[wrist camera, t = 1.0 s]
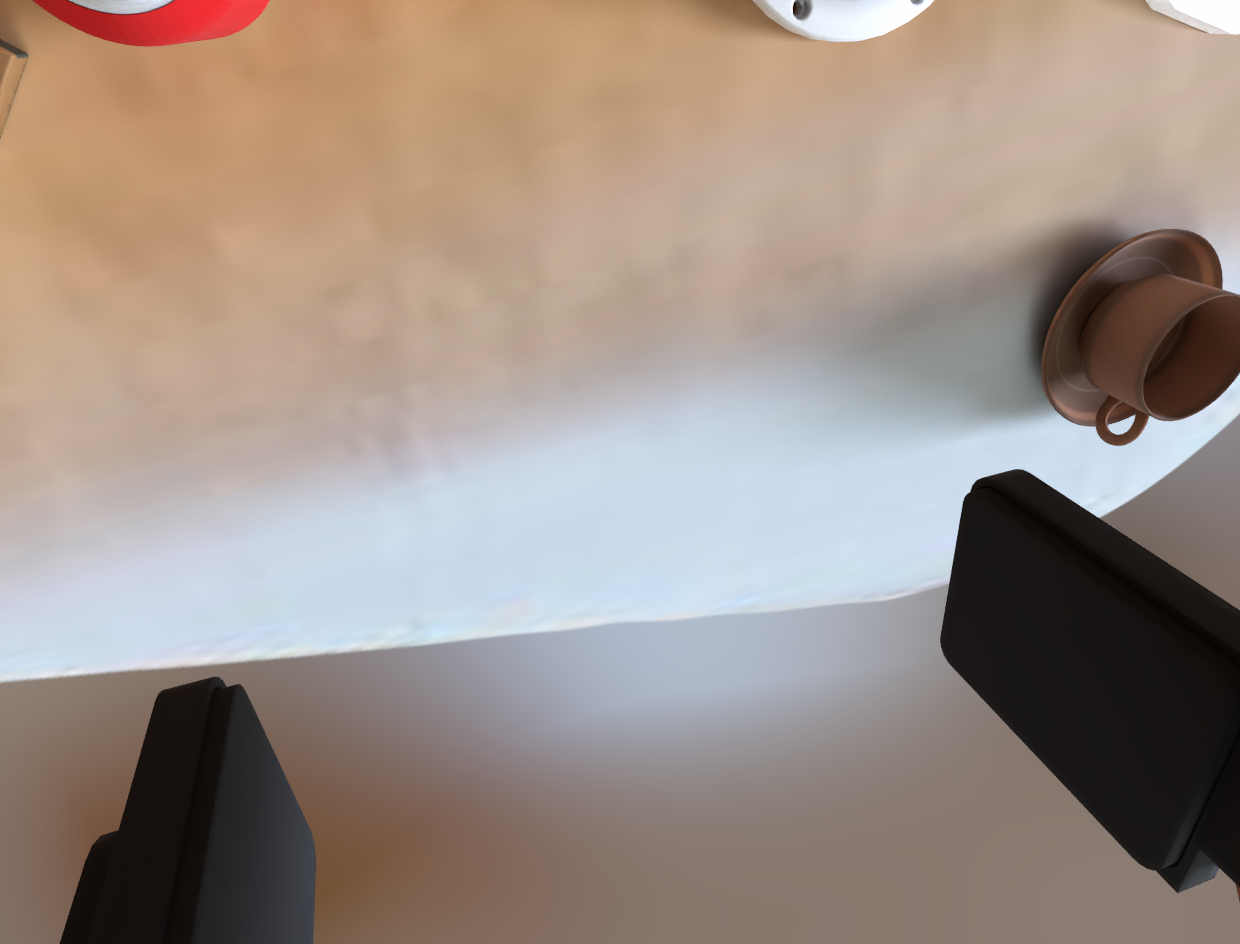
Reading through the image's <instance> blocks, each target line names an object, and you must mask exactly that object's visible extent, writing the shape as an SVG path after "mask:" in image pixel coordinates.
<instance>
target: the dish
mask: <svg viewBox="0 0 1240 944" xmlns="http://www.w3.org/2000/svg"><path fill="white" fill-rule="evenodd" d="M1146 2H1147V3H1148V5H1149V6H1150V7H1151V9H1152V10H1155V11H1157V12H1159V13H1162V14H1164V15H1166V16H1169V17H1171V18H1174V19H1176V20H1178V21H1181V22H1183V23H1186V24H1188V25H1190V26H1193V27H1195V28H1198V29H1200V30H1202V31H1205V32H1207V33H1209V34H1239V33H1240V0H1146Z"/></svg>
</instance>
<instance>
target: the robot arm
mask: <svg viewBox="0 0 1240 944" xmlns="http://www.w3.org/2000/svg"><path fill="white" fill-rule="evenodd" d="M752 1H753V2H754V3H755V4H756V5H757V6H758V7H759V8H760V9H761V10H762V11H763V12H764V13H765V14H766V16H767V17H769V18H770V19H772V20H773V21H775V22H776V23H778V24H779V25H781V26H782V27H784V28H785V29H787V30H788V31H790V32H793V33H796V34H799V35H801V36H804V37H807V38H809V39H813V40H822V41H831V42H849V41H861V40H865V39H869V38H872V37H876V36H880V35H883V34H885V33H887V32H889V31H891V30H893V29H895V28H897V27H899V26H901V25H903V24H905V23H907V22H908V21H909V20H911V19H912V18H914V17H915V16H916V15H918V14H919V13H920V12H922V11H923V10H924V9H925V8H927V7H928V6H929V5H930V4H931V3H932V2H933V1H934V0H752ZM794 2H795V3H796V6H797V9H796V12H795V13H794V14H793V10H792V8H793V4H794ZM940 642H941V648H942V651H943V654H944V656H945V658H946V659H947V661H948V662H949V664H950V665H951V666H952V667H953V668H954V669H955V670H956V671H957V672H958V673H959V674H960V675H961V677H963V679H964V680H965V681H966V682H967V683H968V684H969V685H970V686H971V687H972V688H973V689H974V690H975V691H976V692H977V693H978V695H979V696H980V697H981V698H982V699H983V700H984V701H985V702H986V703H987V704H988V705H989V706H990V707H991V708H992V709H993V710H994V712H995V713H996V714H997V715H998V716H999V717H1000V718H1001V719H1002V720H1003V721H1004V722H1005V723H1006V724H1007V725H1008V726H1009V727H1010V728H1011V730H1013V732H1014V733H1015V734H1016V735H1017V736H1018V737H1019V738H1020V739H1021V740H1022V741H1023V742H1024V743H1025V744H1026V745H1027V746H1028V748H1029V749H1030V750H1031V751H1032V752H1033V753H1034V754H1035V755H1036V756H1037V757H1038V758H1039V759H1040V760H1041V761H1042V762H1043V763H1044V764H1045V766H1046V767H1047V768H1048V769H1049V770H1050V771H1051V772H1052V773H1053V774H1054V775H1055V776H1056V777H1057V778H1058V779H1059V780H1060V781H1061V782H1062V783H1063V785H1064V786H1065V787H1066V788H1067V789H1068V790H1069V791H1070V792H1071V793H1072V794H1073V795H1074V796H1075V797H1076V798H1077V799H1078V800H1079V801H1080V803H1082V804H1083V806H1084V807H1085V808H1086V809H1087V810H1088V811H1089V812H1090V813H1091V814H1092V815H1093V816H1094V817H1095V818H1096V819H1097V821H1098V822H1099V823H1100V824H1101V825H1102V826H1103V827H1104V828H1105V829H1106V830H1107V831H1108V832H1109V833H1110V834H1111V835H1112V836H1113V837H1114V839H1115V840H1116V841H1117V842H1118V843H1119V844H1120V845H1121V846H1122V847H1123V848H1124V849H1125V850H1126V851H1127V852H1128V853H1129V854H1130V855H1131V857H1132V858H1134V859H1135V860H1136V861H1137V862H1138V863H1139V864H1141V865H1142V866H1144V867H1145V868H1147V869H1151V870H1156V871H1157V872H1158V873H1159V874H1160V875H1161V877H1162V878H1163V879H1164V880H1165V881H1166V882H1167V883H1168V884H1169V885H1170V886H1171V887H1172V888H1173V889H1174V890H1175V891H1176V892H1177V893H1179V892H1181V891H1184V890H1186V889H1188V888H1191V887H1194V886H1196V885H1198V884H1201V883H1203V882H1206V881H1208V880H1211V879H1213V878H1215V876H1216V874H1217V872H1218V870H1219V868H1220V869H1221V870H1222V871H1223V872H1224V873H1225V874H1226V875H1227V876H1229V878H1230V879H1232V880H1233V881H1234V882H1235V883H1236V888H1237V892H1238V896H1239V901H1240V610H1238V609H1237V608H1235V607H1233V606H1232V605H1231V604H1229V603H1228V602H1226V601H1225V600H1223V599H1222V598H1220V597H1218V596H1217V595H1215V594H1214V593H1212V592H1211V591H1209V590H1208V589H1206V588H1204V587H1203V586H1202V585H1200V584H1198V583H1197V582H1196V581H1194V580H1192V579H1191V578H1189V577H1188V576H1186V575H1185V574H1183V573H1181V572H1180V571H1179V570H1177V569H1176V568H1174V567H1172V566H1171V565H1169V564H1168V563H1167V562H1165V561H1163V560H1162V559H1160V558H1159V557H1157V556H1156V555H1154V554H1153V553H1151V552H1150V551H1148V550H1146V549H1145V548H1143V547H1142V546H1141V545H1139V544H1137V543H1136V542H1134V541H1133V540H1131V539H1130V538H1128V537H1127V536H1125V535H1124V534H1122V533H1121V532H1119V531H1118V530H1116V529H1115V528H1113V527H1112V526H1110V525H1108V524H1107V523H1105V522H1104V521H1102V520H1101V519H1099V518H1098V517H1096V516H1095V515H1093V514H1092V513H1090V512H1089V511H1087V510H1086V509H1084V508H1082V507H1081V506H1079V505H1078V504H1076V503H1075V502H1073V501H1072V500H1070V499H1069V498H1067V497H1066V496H1064V495H1063V494H1061V493H1060V492H1058V491H1057V490H1055V489H1053V488H1052V487H1050V486H1049V485H1047V484H1046V483H1044V482H1043V481H1041V480H1040V479H1038V478H1037V477H1035V476H1034V475H1032V474H1031V473H1029V472H1027V471H1024V470H1020V469H1015V470H1011V471H1007V472H1003V473H999V474H995V475H991V476H988V477H984V478H981V479H979V480H977V481H976V482H975V483H974V484H973V486H972V489H971V492H970V493H968V494H967V495H966V496H965V498H964V501H963V506H962V512H961V518H960V524H959V530H958V536H957V542H956V547H955V553H954V559H953V565H952V571H951V577H950V583H949V589H948V595H947V601H946V607H945V613H944V619H943V625H942V631H941V638H940ZM315 874H316V854H315V846H314V841H313V837H312V833H311V830H310V828H309V826H308V824H307V821H306V819H305V817H304V815H303V813H302V811H301V809H300V807H299V804H298V802H297V800H296V798H295V796H294V794H293V792H292V790H291V787H290V785H289V783H288V781H287V779H286V777H285V774H284V772H283V770H282V768H281V766H280V764H279V762H278V759H277V757H276V755H275V753H274V751H273V749H272V747H271V744H270V742H269V740H268V738H267V736H266V734H265V732H264V729H263V727H262V725H261V723H260V721H259V719H258V717H257V714H256V712H255V710H254V708H253V706H252V704H251V702H250V699H249V698H248V695H247V693H246V691H245V690H244V688H243V687H242V686H241V685H240V684H237V685H233V686H229V687H226V685H225V683H224V682H223V680H221V679H220V678H219V677H212V678H208V679H204V680H200V681H196V682H192V683H188V684H185V685H181V686H177V687H174V688H170V689H166V690H162V691H161V692H160V693H159V694H158V696H157V698H156V701H155V704H154V707H153V711H152V714H151V718H150V722H149V725H148V728H147V732H146V735H145V739H144V743H143V746H142V750H141V753H140V757H139V760H138V764H137V767H136V771H135V774H134V778H133V781H132V785H131V788H130V792H129V795H128V799H127V803H126V806H125V810H124V813H123V817H122V820H121V824H120V827H119V830H118V831H114V832H111V833H108V834H105V835H102V836H100V837H99V839H98V840H97V841H96V842H95V843H94V844H93V845H92V847H91V850H90V852H89V854H88V857H87V859H86V861H85V864H84V868H83V871H82V874H81V877H80V881H79V883H78V887H77V890H76V893H75V896H74V899H73V903H72V906H71V909H70V912H69V915H68V919H67V922H66V925H65V929H64V931H63V935H62V939H61V941H60V944H313V930H314V903H315V876H316V875H315Z"/></svg>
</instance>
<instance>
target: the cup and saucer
mask: <svg viewBox="0 0 1240 944" xmlns="http://www.w3.org/2000/svg"><path fill="white" fill-rule="evenodd" d="M1222 281H1223V280H1222V270H1221V264H1220V261H1219V258H1218V256H1217V254H1216V252H1215V250H1214V248H1213V247H1212V245H1211V244H1210V243H1209V242H1208V241H1207V240H1206V239H1204V238H1203V237H1202V236H1200V235H1198V234H1196V233H1194V232H1190V231H1187V230H1180V229H1163V230H1155V231H1151V232H1147V233H1144V234H1141V235H1138V236H1136V237H1134V238H1131V239H1129V240H1127V241H1125V242H1124V243H1122V244H1120V245H1118V246H1117V247H1115V248H1114V249H1112V250H1111V251H1110V252H1108V253H1107V254H1106V255H1104V256H1103V257H1102V258H1101V259H1099V260H1098V261H1097V262H1096V263H1095V264H1094V265H1092V266H1091V267H1090V268H1089V269H1088V270H1087V271H1086V272H1085V273H1084V274H1083V275H1082V276H1081V277H1080V279H1079V280H1078V281H1077V282H1076V283H1075V284H1074V286H1073V287H1072V288H1071V290H1070V291H1069V292H1068V294H1067V295H1066V297H1065V298H1064V300H1063V301H1062V303H1061V305H1060V306H1059V308H1058V310H1057V312H1056V314H1055V316H1054V318H1053V320H1052V323H1051V325H1050V327H1049V330H1048V333H1047V336H1046V340H1045V344H1044V348H1043V354H1042V364H1041V377H1042V384H1043V388H1044V392H1045V394H1046V397H1047V399H1048V400H1049V402H1050V404H1051V405H1052V406H1053V408H1054V409H1055V410H1056V411H1057V412H1058V413H1059V414H1060V415H1061V416H1062V417H1064V418H1065V419H1067V420H1068V421H1070V422H1073V423H1075V424H1078V425H1082V426H1096V430H1097V433H1098V435H1099V436H1100V438H1101V439H1102V440H1103V441H1105V442H1106V443H1108V444H1111V445H1115V446H1121V445H1126V444H1128V443H1131V442H1132V441H1134V440H1135V439H1136V438H1137V437H1138V436H1139V435H1140V434H1141V433H1142V431H1143V430H1144V428H1145V426H1146V424H1147V422H1148V419H1149V416H1151V417H1153V418H1156V419H1158V420H1162V421H1176V420H1180V419H1184V418H1187V417H1189V416H1192V415H1194V414H1196V413H1198V412H1199V411H1201V410H1203V409H1204V408H1206V407H1207V406H1209V405H1210V404H1211V403H1213V402H1214V401H1215V400H1216V399H1217V398H1218V397H1220V396H1221V395H1222V394H1223V393H1224V392H1225V391H1226V390H1227V388H1228V387H1229V386H1230V385H1231V384H1232V383H1233V381H1234V380H1235V379H1236V378H1237V376H1238V375H1239V373H1240V295H1238V294H1235V293H1232V292H1228V291H1225V290H1222ZM1135 414H1136V415H1135ZM1133 415H1135V420H1134V423H1133V425H1132V426H1131V428H1130V429H1129V430H1128V431H1127V432H1126V433H1124V434H1121V435H1116V434H1113V433H1112V432H1111V431H1110V430H1109V429H1108V426H1107V425H1108V424H1112V423H1116V422H1119V421H1121V420H1124V419H1127V418H1129V417H1131V416H1133Z"/></svg>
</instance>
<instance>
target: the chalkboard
mask: <svg viewBox="0 0 1240 944" xmlns="http://www.w3.org/2000/svg"><path fill="white" fill-rule="evenodd" d="M27 59H28V54H27V53H25V52H23V51H21V50H19V49H18V48H16V47H14V46H12V45H10V44H8V43H6V42H5V41H3V40H1V39H0V137H1V134H2V131H3V128H4V125H5V122H6V120H7V117H8V114H9V111H10V108H11V105H12V102H13V99H14V97H15V94H16V91H17V88H18V85H19V82H20V79H21V76H22V73H23V71H24V68H25V65H26V62H27Z"/></svg>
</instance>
